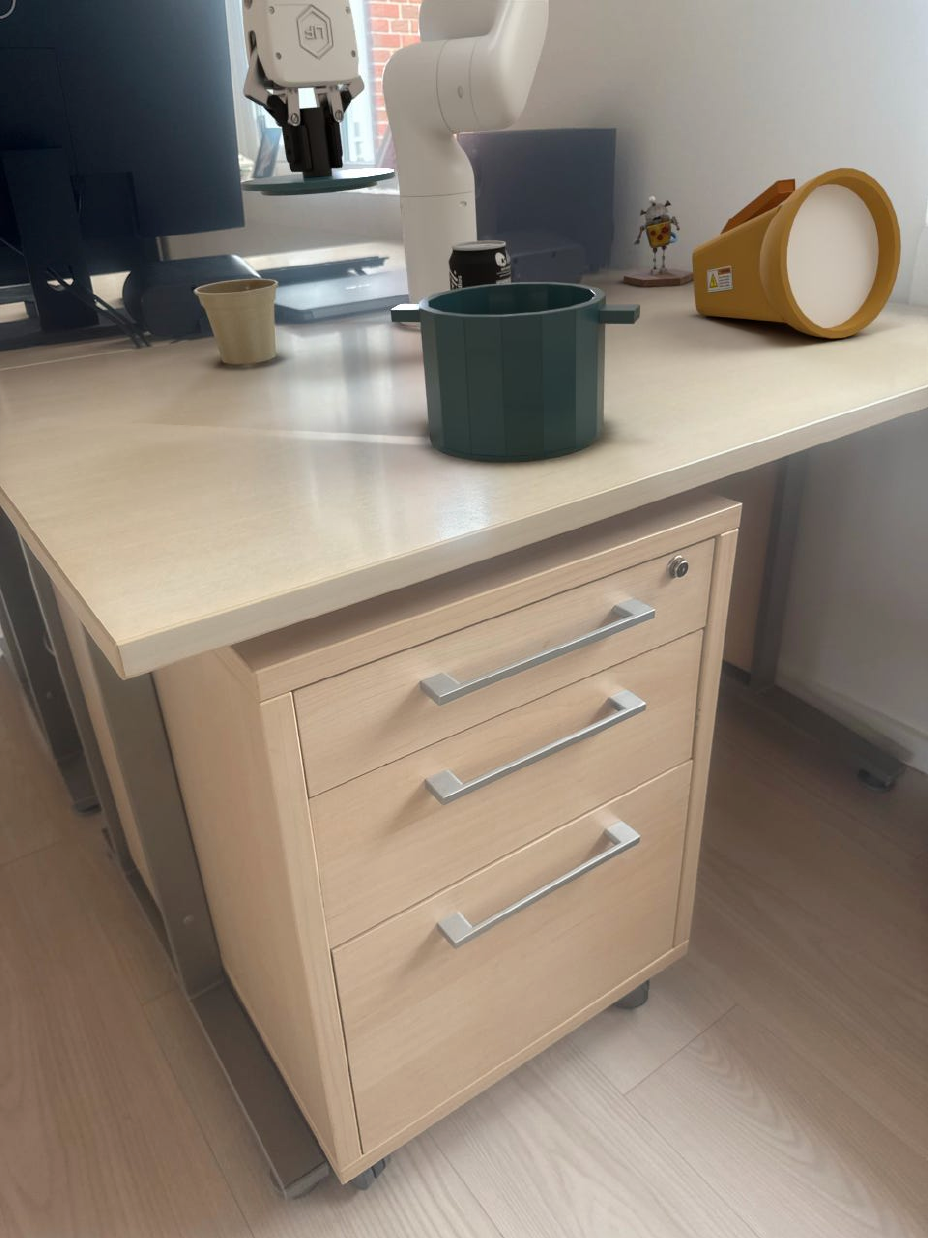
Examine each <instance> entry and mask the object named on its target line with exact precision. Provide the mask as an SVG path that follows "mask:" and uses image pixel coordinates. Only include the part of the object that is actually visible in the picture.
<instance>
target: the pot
mask: <svg viewBox="0 0 928 1238" xmlns="http://www.w3.org/2000/svg"><path fill="white" fill-rule="evenodd" d="M640 313H641V304H638V303H636V304H633V303H632V304H628V303H627V304H621V303H620V304H619V303H618V304H617V303H616V304H615V303H614V304H613V303H612V304H611V303H610V304H609V303H607V294H606V293H605V292H604V291H603V290H601V289H600V288H599V287H595V286H591V285H585V284H581V283H571V282H570V283H569V282H556V281H524V282H523V281H518V282H515V281H514V282H511V283H502V284H488V285H480V286H473V287H466V288H459V289H453V290H449V291H445V292H441V293H437V294H433V295H431V296H429V297H427V298H425V299H423V300H421V301H419V304H409V303H401V304H399V305H397V306H395V307H393V308H391V309H390V320H391V323H400V322H420V324H421V327H420V334H421V335H420V336H421V347H422V360H423V373H424V385H425V395H426V410H427V421H428V422H427V423H428V433H429V434H428V435H429V440H430V443H431V445H432V446H433V447H434V448H435V449H436V450H438V451H439V452H441V453H443V454H447V455H448V456H452V457H455V458H459V459H465V460H469V461H476V462H489V463H520V462H521V463H522V462H533V461H540V460H547V459H553V458H558V457H563V456H565V455H570V454H573V453H575V452H578V451H579V452H580V451H581V450H584V449H586V448H588V447H590V446H591V445H593V444H594V443H596V442H598V440H599V439H600V437H601V435H602V433H603V431H602V429H603V426H604V424H605V423H604V422H605V418H604V417H605V415H604V414H605V377H606V376H605V373H606V371H605V370H606V369H605V368H606V367H605V366H606V325H635V323H636V322H637V321H638V320H639V318H640Z"/></svg>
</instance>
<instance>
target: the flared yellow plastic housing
mask: <svg viewBox="0 0 928 1238" xmlns="http://www.w3.org/2000/svg"><path fill="white" fill-rule="evenodd" d="M897 215H898V214H897V213H896V210H895V207H894V205H893V201H892V200H891V198H890V197H889V195H888V193H887V192H886V190H885V188H884V187H883V186H882V185H881V184H880V183H879V181H877V179H875V178H874V177H872V176H871V175H869V174H868V173H866V172H865V171H861V170H859V169H856V168H851V167H850V168H849V167H839V168H835V169H831V170H828V171H825V172H823V173H821V174H818V175H816V176H815V177H813V178H811V179H809V180H807V181H806V182H805V183H803V184H802V185H800V186H799V187H798V188H797V189H796V178H789V179H779V180H776V181H775V182H774V183H772V184H771V185H770V186H769V187H768V188H766V189H765V190H764V191H762V193H760V194H759V195H758V196H756V198H754V199H753V200H752V201H750V202H749V203H748V204H747V205H745V207H743V208H742V209H741V210H739V212H737V213H735V214H734V215H733V216H732V217H730V218H728V220H727V221H726V223H725V225H724V227H723V229H722V230H721V232H720V233H719V235H717V236H715V237H713V238H711V239H708V240H706V241H705V242H703V243H701V244H699V245H697V246H696V247H695V248H694V249H693V251H692V256H691V263H692V272H693V278H694V279H693V291H694V293H693V294H694V304H695V305H694V306H695V310H696V312H697V313H698V314H699V315H701V316H707V317H719V318H731V319H743V320H751V321H752V320H753V321H761V322H762V321H764V322H774V323H785V324H787V325H789V326H790V327H792V328H793V329H794V330H796V331H798V332H801V333H803V334H806V335H808V336H811V337H816V338H822V339H823V338H824V339H843V338H847V337H850V336H853V335H856V334H857V333H859V332H861V331H863V330H865V329H866V328H867V327H868V326H869V325H870V324H872V322H874V321H875V319H877V317H878V316H879V315H880V313H881V312H882V311H883V309H884V308H885V306H886V304H887V303H888V301H889V299H890V297H891V296H892V295H891V294H892V293H893V290H894V287H895V284H896V281H897V279H898V273H899V268H900V264H901V254H902V253H901V251H902V242H901V229H900V224H899V220H898V216H897Z"/></svg>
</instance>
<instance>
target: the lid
mask: <svg viewBox="0 0 928 1238" xmlns="http://www.w3.org/2000/svg"><path fill="white" fill-rule="evenodd" d="M299 108H300V107H299ZM300 124H301V126H304V125H305V127H306V129H307V135H308V142H309V150H310V157H311V164H312V169H311V171H310V172H301V173H294V174H292V173H291V174H284V175H276V176H267V177H266V176H265V177H261V178H260V177H259V178H253V179H248V180H244V181H241V182H240V183H239V185H240V189H241V191H243V192H245V191H246V192H260V194H261V195H262V196H268V197H270V196H271V197H284V196H285V197H287V196H305V195H318V194H329V193H339V192H347V191H356V190H362V189H368V188H372V187H375V186H377V185H378V182H381V181H386V180H387V181H388V180H390V179H393V178H395V176H396V174H395V169H392V168H363V169H362V168H361V169H359V168H357V169H342V170H341V169H340V170H333V168H332V167H331V159H330V151H329V143H328V135H327V127H326V119H325V112H324V107H317V106H315V107H302V108H300Z"/></svg>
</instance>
